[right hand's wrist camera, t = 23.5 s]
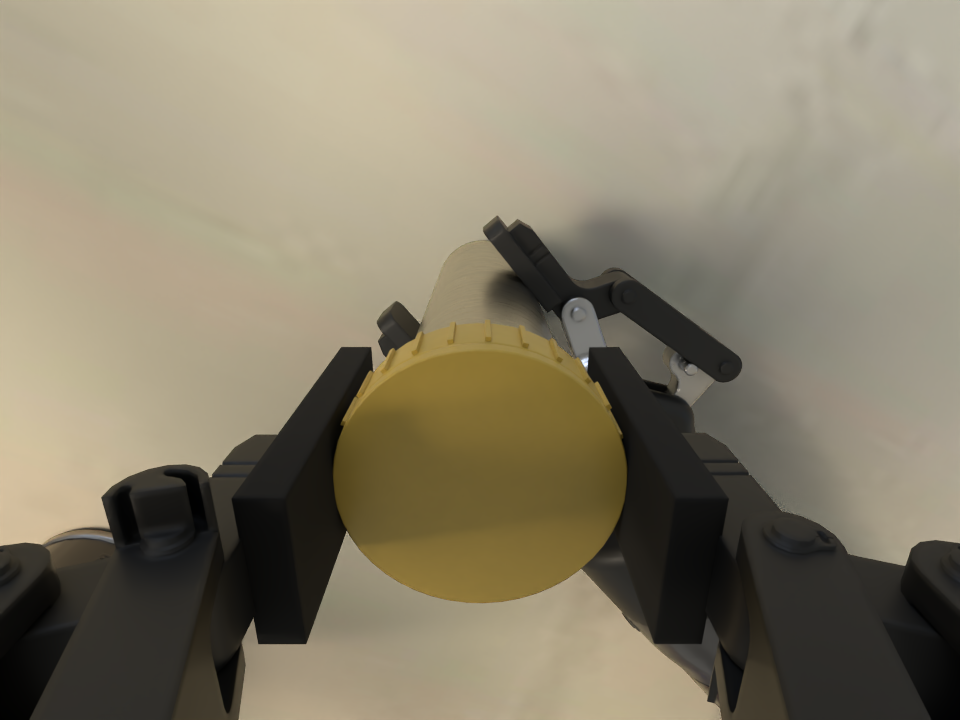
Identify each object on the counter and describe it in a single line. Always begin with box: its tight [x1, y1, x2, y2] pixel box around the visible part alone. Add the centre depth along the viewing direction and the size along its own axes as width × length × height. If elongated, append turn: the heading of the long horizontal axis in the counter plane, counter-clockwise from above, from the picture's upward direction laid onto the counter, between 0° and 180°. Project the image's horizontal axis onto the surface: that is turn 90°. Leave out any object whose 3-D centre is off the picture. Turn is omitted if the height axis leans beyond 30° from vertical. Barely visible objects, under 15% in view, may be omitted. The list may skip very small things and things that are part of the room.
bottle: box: [415, 240, 553, 340], centre depth 20 cm, size 4×4×17 cm
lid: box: [333, 320, 628, 603], centre depth 11 cm, size 6×6×2 cm
